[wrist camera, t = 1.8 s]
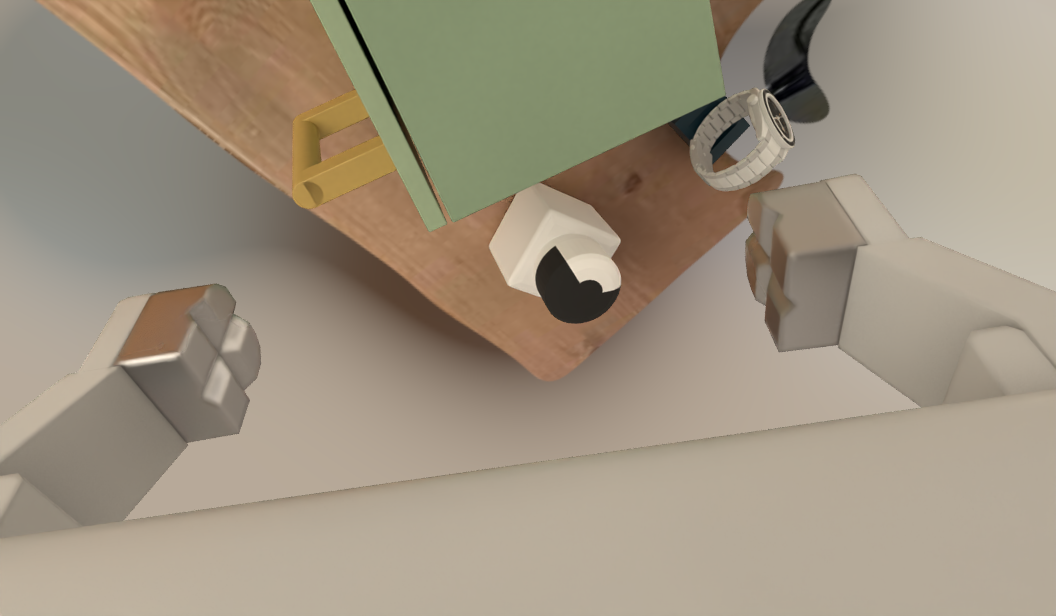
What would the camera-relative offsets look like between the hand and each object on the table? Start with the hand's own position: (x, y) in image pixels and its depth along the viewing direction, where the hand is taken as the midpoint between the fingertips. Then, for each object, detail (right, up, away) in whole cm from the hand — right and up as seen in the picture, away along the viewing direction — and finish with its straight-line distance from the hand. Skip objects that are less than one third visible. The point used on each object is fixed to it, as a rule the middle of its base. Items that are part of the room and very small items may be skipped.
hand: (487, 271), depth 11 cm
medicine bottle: (+2, +7, +50) cm, 51 cm away
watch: (+15, +16, +48) cm, 53 cm away
